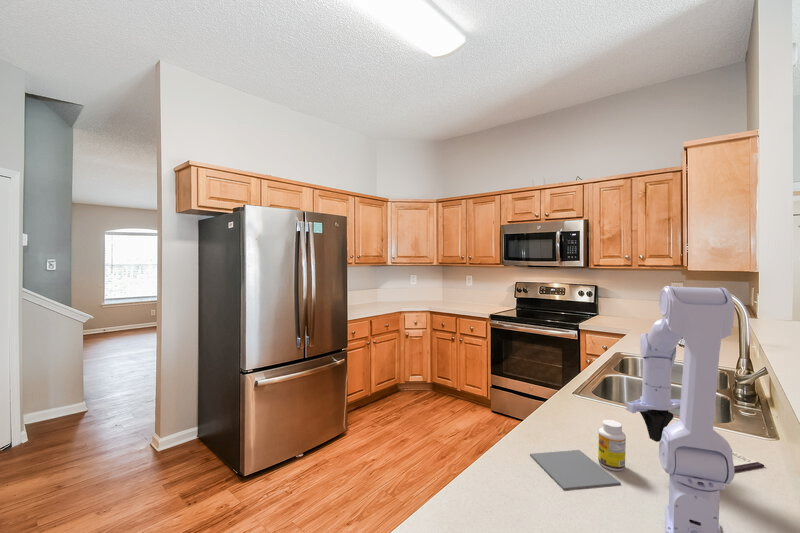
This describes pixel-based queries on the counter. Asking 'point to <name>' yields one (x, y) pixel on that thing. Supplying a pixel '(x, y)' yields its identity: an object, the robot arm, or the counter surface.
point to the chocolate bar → (744, 463)
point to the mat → (573, 470)
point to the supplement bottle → (612, 446)
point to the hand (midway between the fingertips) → (655, 439)
